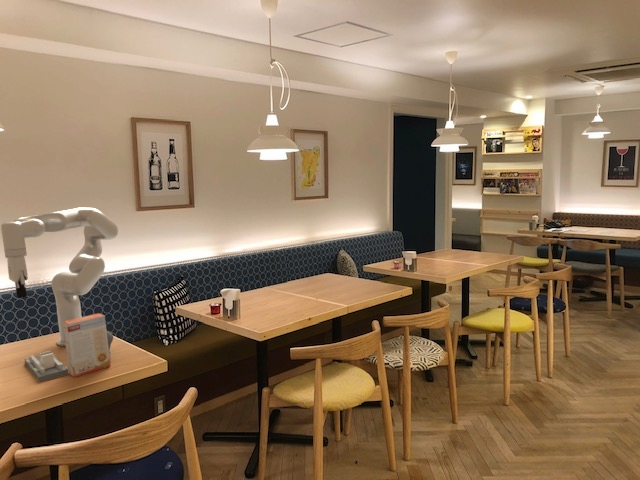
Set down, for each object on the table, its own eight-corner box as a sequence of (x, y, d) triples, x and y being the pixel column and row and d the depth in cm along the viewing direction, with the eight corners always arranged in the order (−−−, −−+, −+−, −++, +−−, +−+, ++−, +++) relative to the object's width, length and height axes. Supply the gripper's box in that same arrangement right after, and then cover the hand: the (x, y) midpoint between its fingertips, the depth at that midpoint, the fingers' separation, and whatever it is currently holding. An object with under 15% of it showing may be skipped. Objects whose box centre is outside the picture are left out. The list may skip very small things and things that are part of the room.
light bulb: (96, 356, 217) (93, 333, 216) (104, 351, 223) (102, 328, 222) (109, 357, 216) (107, 333, 215) (117, 351, 222) (115, 329, 221)
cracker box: (105, 363, 210) (99, 312, 207) (111, 367, 206) (105, 315, 203) (68, 373, 201) (62, 320, 198) (73, 377, 197) (67, 323, 193)
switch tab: (52, 363, 205) (50, 349, 204) (54, 366, 202) (53, 352, 201) (41, 366, 203) (39, 352, 202) (44, 369, 200) (42, 354, 199)
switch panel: (52, 357, 218) (51, 348, 218) (68, 374, 200) (67, 364, 200) (25, 364, 212) (24, 354, 211) (39, 381, 194) (38, 372, 193)
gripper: (0, 252, 213) (6, 295, 217) (9, 256, 203) (16, 302, 206) (21, 249, 218) (27, 292, 222) (31, 253, 208) (37, 298, 211)
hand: (22, 296), depth 214 cm, fingers closed
